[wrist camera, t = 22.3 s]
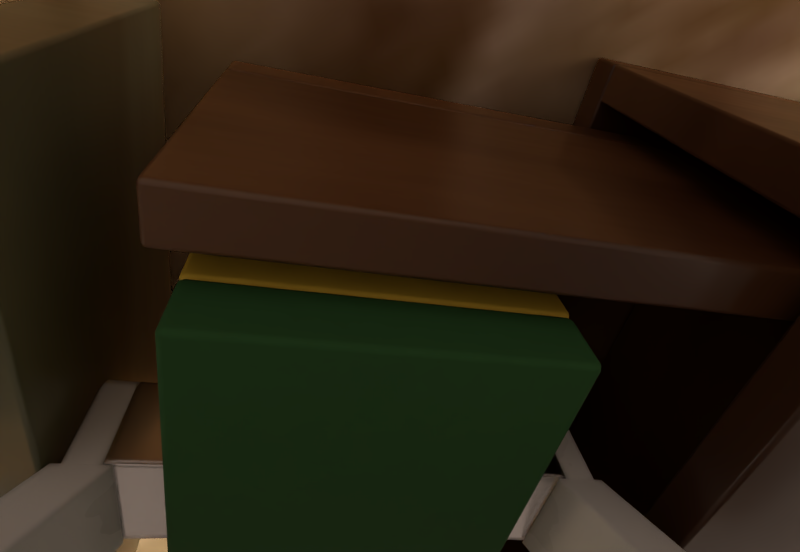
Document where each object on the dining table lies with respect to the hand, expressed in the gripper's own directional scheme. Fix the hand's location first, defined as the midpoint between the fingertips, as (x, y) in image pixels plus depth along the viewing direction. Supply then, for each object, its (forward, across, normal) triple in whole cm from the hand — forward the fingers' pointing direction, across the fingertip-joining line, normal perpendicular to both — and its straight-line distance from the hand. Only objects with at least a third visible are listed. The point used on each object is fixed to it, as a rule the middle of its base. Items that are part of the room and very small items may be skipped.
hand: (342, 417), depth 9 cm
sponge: (+2, 0, 0) cm, 2 cm away
